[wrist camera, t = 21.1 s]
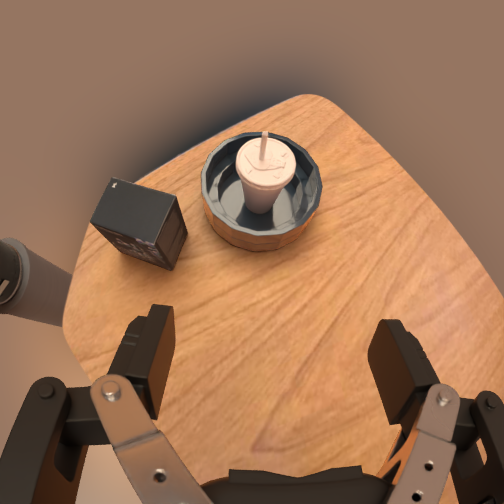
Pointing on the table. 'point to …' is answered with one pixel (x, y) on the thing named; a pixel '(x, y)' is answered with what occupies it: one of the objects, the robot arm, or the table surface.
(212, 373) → the table surface
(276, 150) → the smoothie
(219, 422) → the table surface
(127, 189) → the box
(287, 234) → the bowl
